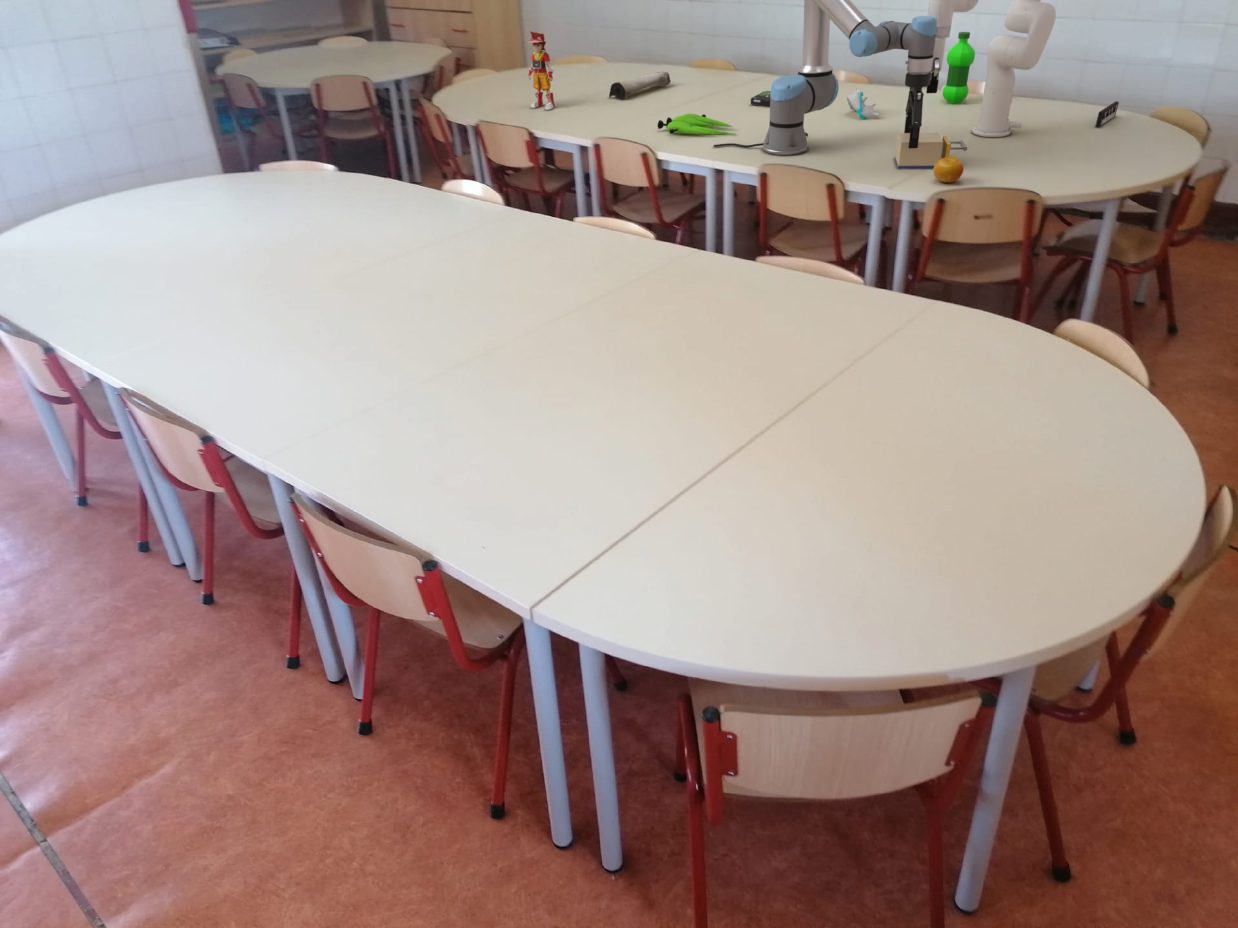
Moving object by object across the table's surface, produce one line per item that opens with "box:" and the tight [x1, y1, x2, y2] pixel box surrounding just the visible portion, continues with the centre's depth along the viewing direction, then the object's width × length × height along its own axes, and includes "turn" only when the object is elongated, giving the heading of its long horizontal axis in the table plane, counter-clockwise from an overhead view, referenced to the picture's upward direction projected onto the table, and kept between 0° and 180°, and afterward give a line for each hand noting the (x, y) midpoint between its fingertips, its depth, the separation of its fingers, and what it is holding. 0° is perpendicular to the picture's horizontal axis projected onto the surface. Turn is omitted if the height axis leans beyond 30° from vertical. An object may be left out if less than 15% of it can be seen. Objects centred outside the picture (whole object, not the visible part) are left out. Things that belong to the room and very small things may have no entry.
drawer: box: [941, 135, 968, 159], centre depth 290 cm, size 17×9×6 cm, turn 81°
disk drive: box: [750, 90, 771, 107], centre depth 369 cm, size 10×3×15 cm
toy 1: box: [527, 31, 556, 111], centre depth 374 cm, size 12×9×30 cm
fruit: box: [933, 156, 965, 183], centre depth 275 cm, size 8×9×8 cm
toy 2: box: [657, 113, 735, 135], centre depth 338 cm, size 28×5×30 cm
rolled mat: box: [608, 71, 672, 101], centre depth 395 cm, size 30×9×10 cm
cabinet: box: [894, 132, 943, 170], centre depth 291 cm, size 13×11×8 cm
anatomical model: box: [846, 88, 881, 120], centre depth 344 cm, size 15×10×10 cm
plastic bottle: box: [942, 31, 976, 104], centre depth 348 cm, size 10×10×25 cm
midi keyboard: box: [1095, 100, 1120, 128], centre depth 320 cm, size 18×1×5 cm, turn 138°
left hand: (910, 142), depth 290 cm, fingers open, 13 cm apart
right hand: (929, 89), depth 291 cm, fingers open, 9 cm apart
